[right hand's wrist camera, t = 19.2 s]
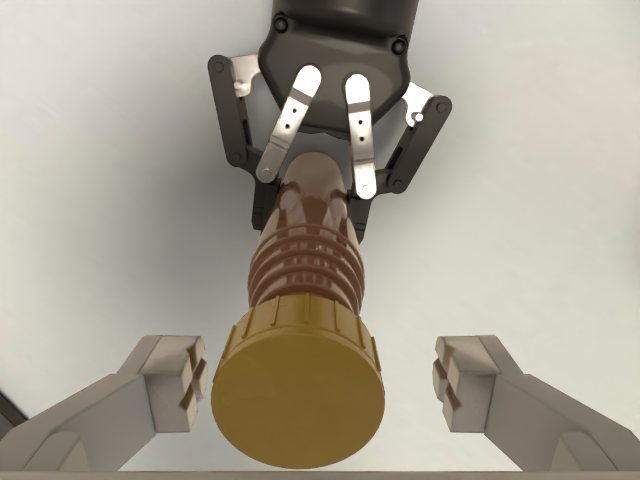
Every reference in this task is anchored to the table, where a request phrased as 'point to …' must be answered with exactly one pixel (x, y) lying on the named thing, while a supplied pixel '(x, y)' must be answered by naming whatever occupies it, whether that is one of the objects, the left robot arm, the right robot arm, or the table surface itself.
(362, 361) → the cap
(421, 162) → the left robot arm
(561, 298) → the table surface
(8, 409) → the toy
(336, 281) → the bottle
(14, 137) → the table surface
